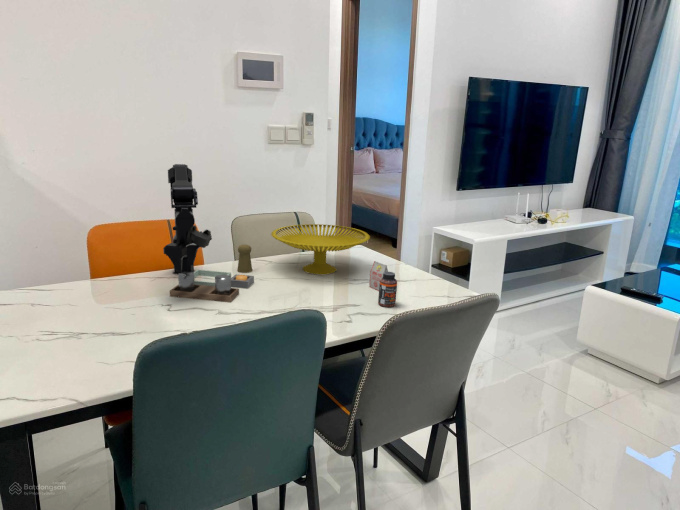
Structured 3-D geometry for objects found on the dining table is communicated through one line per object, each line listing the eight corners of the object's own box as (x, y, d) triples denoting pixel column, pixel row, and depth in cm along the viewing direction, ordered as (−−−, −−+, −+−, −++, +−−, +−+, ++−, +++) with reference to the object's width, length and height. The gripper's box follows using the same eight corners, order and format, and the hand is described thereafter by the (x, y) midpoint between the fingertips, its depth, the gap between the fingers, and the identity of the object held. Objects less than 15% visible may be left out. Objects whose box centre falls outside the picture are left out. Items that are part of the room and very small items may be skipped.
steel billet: (176, 295, 172) (175, 275, 170) (183, 290, 177) (182, 271, 175) (190, 296, 172) (190, 276, 170) (197, 291, 177) (196, 272, 175)
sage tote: (182, 288, 182) (182, 280, 182) (198, 277, 195) (197, 269, 194) (217, 291, 181) (217, 283, 180) (231, 280, 193) (231, 272, 192)
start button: (234, 285, 184) (234, 277, 183) (238, 282, 188) (238, 274, 187) (245, 286, 184) (245, 278, 183) (248, 283, 187) (248, 275, 187)
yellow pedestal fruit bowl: (375, 261, 226) (377, 228, 222) (358, 290, 188) (360, 250, 184) (288, 252, 235) (289, 220, 231) (255, 278, 197) (255, 240, 193)
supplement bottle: (384, 308, 171) (386, 276, 168) (374, 302, 176) (376, 271, 173) (398, 306, 174) (401, 274, 171) (389, 300, 179) (391, 269, 176)
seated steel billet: (212, 298, 171) (212, 278, 169) (218, 293, 175) (218, 274, 174) (227, 300, 170) (227, 280, 168) (233, 295, 175) (233, 275, 173)
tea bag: (376, 285, 194) (378, 260, 192) (388, 290, 189) (390, 264, 187) (369, 287, 192) (370, 261, 190) (380, 292, 187) (382, 266, 184)
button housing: (228, 289, 183) (228, 280, 182) (235, 283, 190) (235, 274, 189) (247, 291, 182) (247, 281, 181) (253, 285, 189) (253, 275, 188)
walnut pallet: (169, 299, 171) (169, 290, 171) (181, 291, 179) (180, 283, 178) (230, 305, 168) (230, 296, 168) (239, 296, 176) (239, 288, 175)
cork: (254, 270, 207) (254, 243, 204) (250, 274, 201) (250, 247, 198) (239, 269, 207) (239, 242, 204) (235, 273, 201) (234, 246, 198)
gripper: (195, 230, 158) (196, 279, 162) (218, 219, 176) (219, 263, 180) (161, 228, 159) (163, 276, 163) (187, 217, 177) (189, 260, 181)
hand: (185, 268), depth 172 cm, fingers open, 9 cm apart
